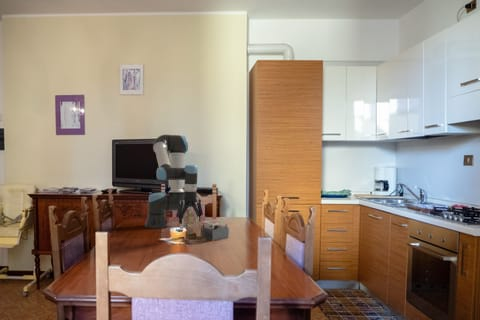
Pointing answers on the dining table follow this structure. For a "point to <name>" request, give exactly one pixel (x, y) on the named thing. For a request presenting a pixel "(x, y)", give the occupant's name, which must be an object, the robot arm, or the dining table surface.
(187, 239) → the tray
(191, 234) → the stand
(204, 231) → the box
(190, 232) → the stick
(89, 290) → the dining table surface
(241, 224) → the dining table surface
